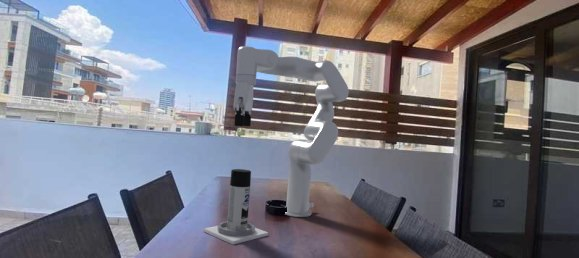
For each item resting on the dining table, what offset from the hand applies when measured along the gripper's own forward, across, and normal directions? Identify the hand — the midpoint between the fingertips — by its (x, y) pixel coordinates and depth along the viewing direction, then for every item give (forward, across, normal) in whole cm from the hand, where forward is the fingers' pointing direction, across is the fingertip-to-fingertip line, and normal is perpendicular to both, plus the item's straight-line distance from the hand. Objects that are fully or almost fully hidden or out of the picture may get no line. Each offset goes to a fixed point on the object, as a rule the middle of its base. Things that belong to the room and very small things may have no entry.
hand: (242, 126), depth 130 cm
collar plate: (+35, +16, +5) cm, 39 cm away
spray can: (+34, +15, +5) cm, 38 cm away
